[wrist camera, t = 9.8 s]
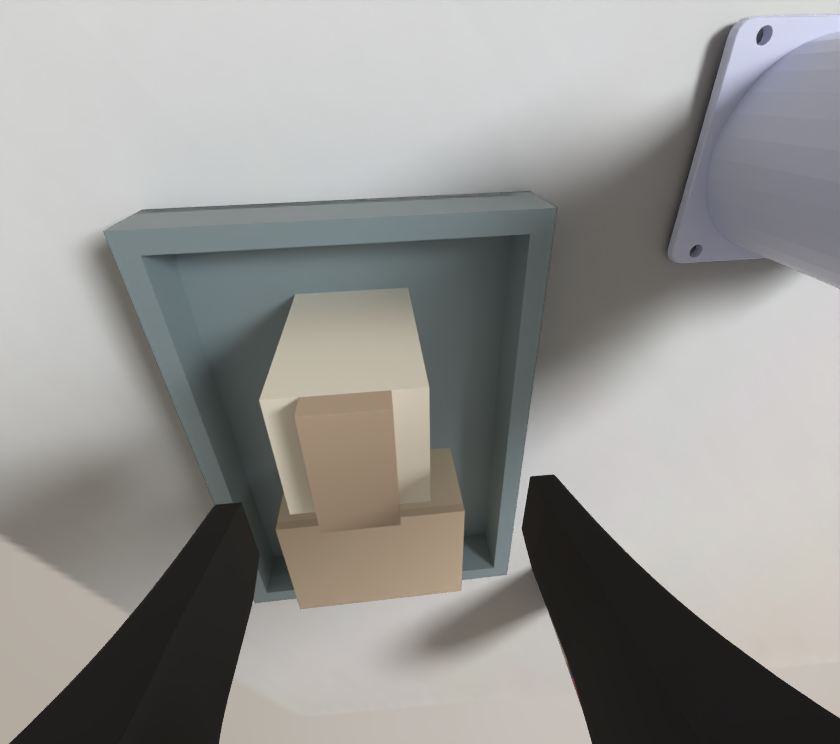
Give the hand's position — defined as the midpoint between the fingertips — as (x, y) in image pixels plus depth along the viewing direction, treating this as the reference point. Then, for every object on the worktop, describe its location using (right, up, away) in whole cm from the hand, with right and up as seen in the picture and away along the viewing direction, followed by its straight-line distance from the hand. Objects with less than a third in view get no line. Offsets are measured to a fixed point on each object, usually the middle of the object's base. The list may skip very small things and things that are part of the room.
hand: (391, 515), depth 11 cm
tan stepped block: (-2, -3, +12) cm, 13 cm away
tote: (-2, +2, +10) cm, 11 cm away
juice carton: (-2, +5, +7) cm, 9 cm away
